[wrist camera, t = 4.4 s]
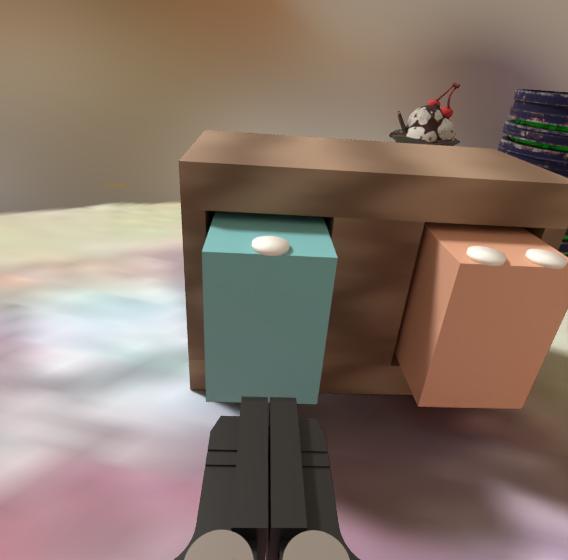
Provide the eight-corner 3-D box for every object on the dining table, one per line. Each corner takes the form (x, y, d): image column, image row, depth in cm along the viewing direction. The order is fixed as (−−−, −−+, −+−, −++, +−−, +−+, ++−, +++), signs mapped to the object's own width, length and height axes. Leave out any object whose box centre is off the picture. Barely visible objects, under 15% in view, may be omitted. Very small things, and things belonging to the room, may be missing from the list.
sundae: (448, 234, 46) (488, 85, 39) (410, 246, 42) (447, 83, 35) (400, 216, 50) (429, 79, 43) (362, 225, 47) (387, 77, 40)
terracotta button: (418, 408, 19) (462, 259, 15) (384, 329, 24) (411, 207, 21) (523, 410, 19) (589, 265, 16) (466, 332, 24) (506, 212, 21)
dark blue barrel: (471, 267, 39) (526, 91, 32) (464, 232, 47) (506, 87, 40) (592, 288, 36) (680, 104, 29) (561, 247, 45) (624, 97, 38)
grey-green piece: (205, 403, 18) (201, 247, 15) (219, 324, 23) (219, 196, 20) (317, 406, 18) (338, 253, 15) (305, 327, 24) (319, 202, 20)
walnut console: (190, 389, 22) (178, 160, 16) (208, 309, 29) (205, 130, 24) (497, 397, 23) (584, 185, 18) (444, 318, 30) (494, 148, 25)
